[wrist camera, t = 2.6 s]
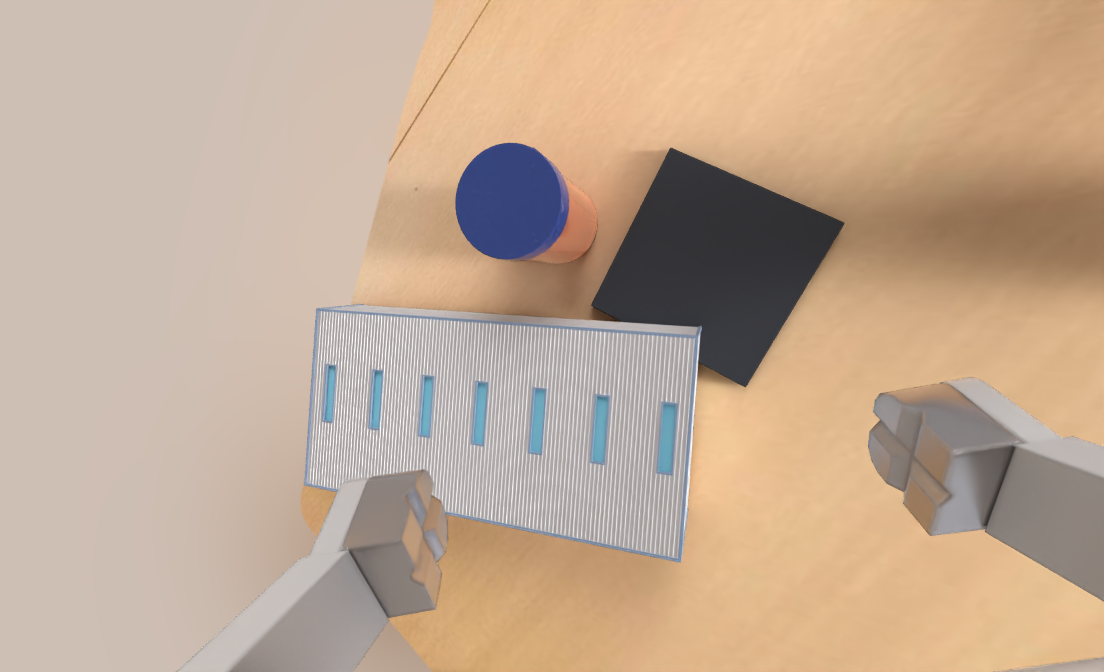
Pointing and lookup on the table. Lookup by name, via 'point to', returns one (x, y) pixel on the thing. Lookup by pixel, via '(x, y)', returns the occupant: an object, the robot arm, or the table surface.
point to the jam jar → (573, 229)
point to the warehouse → (513, 418)
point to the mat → (716, 262)
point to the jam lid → (512, 202)
